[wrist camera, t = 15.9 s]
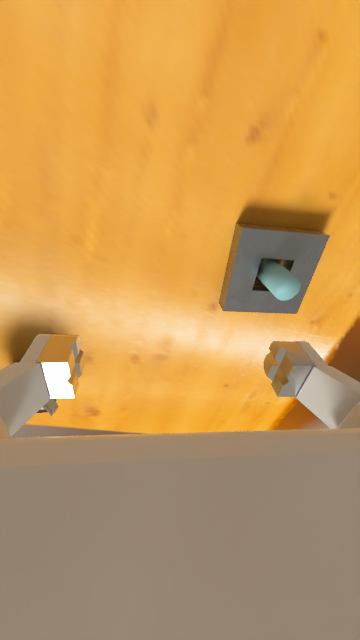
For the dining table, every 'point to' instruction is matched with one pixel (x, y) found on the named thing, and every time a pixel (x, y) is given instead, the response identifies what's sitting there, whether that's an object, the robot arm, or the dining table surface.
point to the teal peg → (278, 279)
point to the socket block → (270, 243)
